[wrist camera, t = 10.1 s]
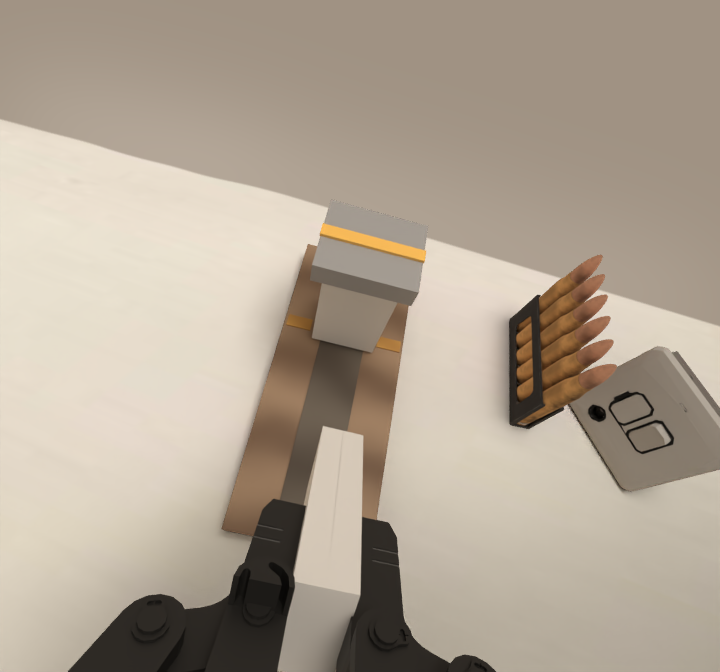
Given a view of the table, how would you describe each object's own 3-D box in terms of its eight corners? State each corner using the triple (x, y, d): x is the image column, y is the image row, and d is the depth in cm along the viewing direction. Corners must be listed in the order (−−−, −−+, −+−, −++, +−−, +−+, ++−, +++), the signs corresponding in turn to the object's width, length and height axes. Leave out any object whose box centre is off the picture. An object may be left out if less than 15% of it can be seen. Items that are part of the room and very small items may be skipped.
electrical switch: (560, 394, 39) (644, 350, 31) (597, 378, 41) (685, 333, 33) (621, 494, 36) (732, 474, 28) (658, 471, 38) (771, 446, 30)
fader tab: (379, 361, 34) (420, 290, 25) (300, 342, 34) (311, 262, 24) (389, 307, 37) (429, 223, 27) (315, 288, 36) (330, 196, 27)
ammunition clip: (508, 319, 42) (588, 242, 31) (526, 323, 42) (612, 248, 32) (509, 425, 37) (603, 376, 26) (529, 429, 37) (631, 382, 27)
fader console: (364, 558, 30) (370, 559, 28) (224, 530, 30) (221, 529, 28) (407, 283, 41) (414, 271, 40) (306, 257, 41) (308, 243, 39)
